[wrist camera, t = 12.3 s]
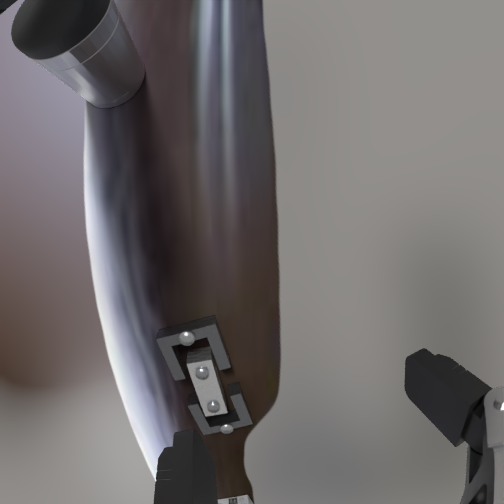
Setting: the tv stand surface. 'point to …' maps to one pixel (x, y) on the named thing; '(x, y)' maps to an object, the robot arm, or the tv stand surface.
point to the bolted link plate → (206, 381)
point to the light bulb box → (236, 500)
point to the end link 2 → (222, 421)
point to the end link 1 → (186, 336)
